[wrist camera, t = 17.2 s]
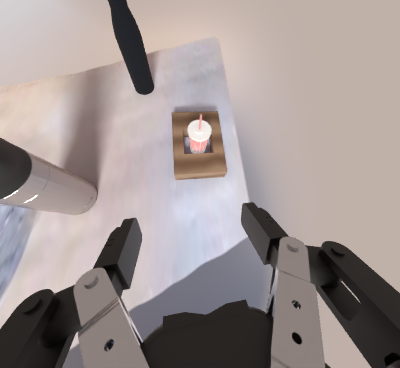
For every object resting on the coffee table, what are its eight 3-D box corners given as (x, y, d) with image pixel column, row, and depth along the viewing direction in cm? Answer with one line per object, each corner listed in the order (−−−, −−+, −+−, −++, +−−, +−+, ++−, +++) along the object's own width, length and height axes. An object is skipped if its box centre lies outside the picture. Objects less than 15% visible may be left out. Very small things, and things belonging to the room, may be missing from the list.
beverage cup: (206, 139, 47) (212, 103, 34) (208, 156, 45) (216, 125, 32) (186, 140, 46) (185, 104, 33) (188, 158, 45) (188, 126, 31)
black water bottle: (136, 95, 51) (66, -80, 22) (134, 81, 52) (67, -97, 24) (155, 93, 51) (111, -79, 23) (152, 79, 53) (109, -96, 25)
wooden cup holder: (223, 176, 44) (227, 171, 40) (175, 179, 42) (174, 174, 38) (215, 120, 49) (217, 111, 46) (173, 121, 48) (171, 112, 44)
